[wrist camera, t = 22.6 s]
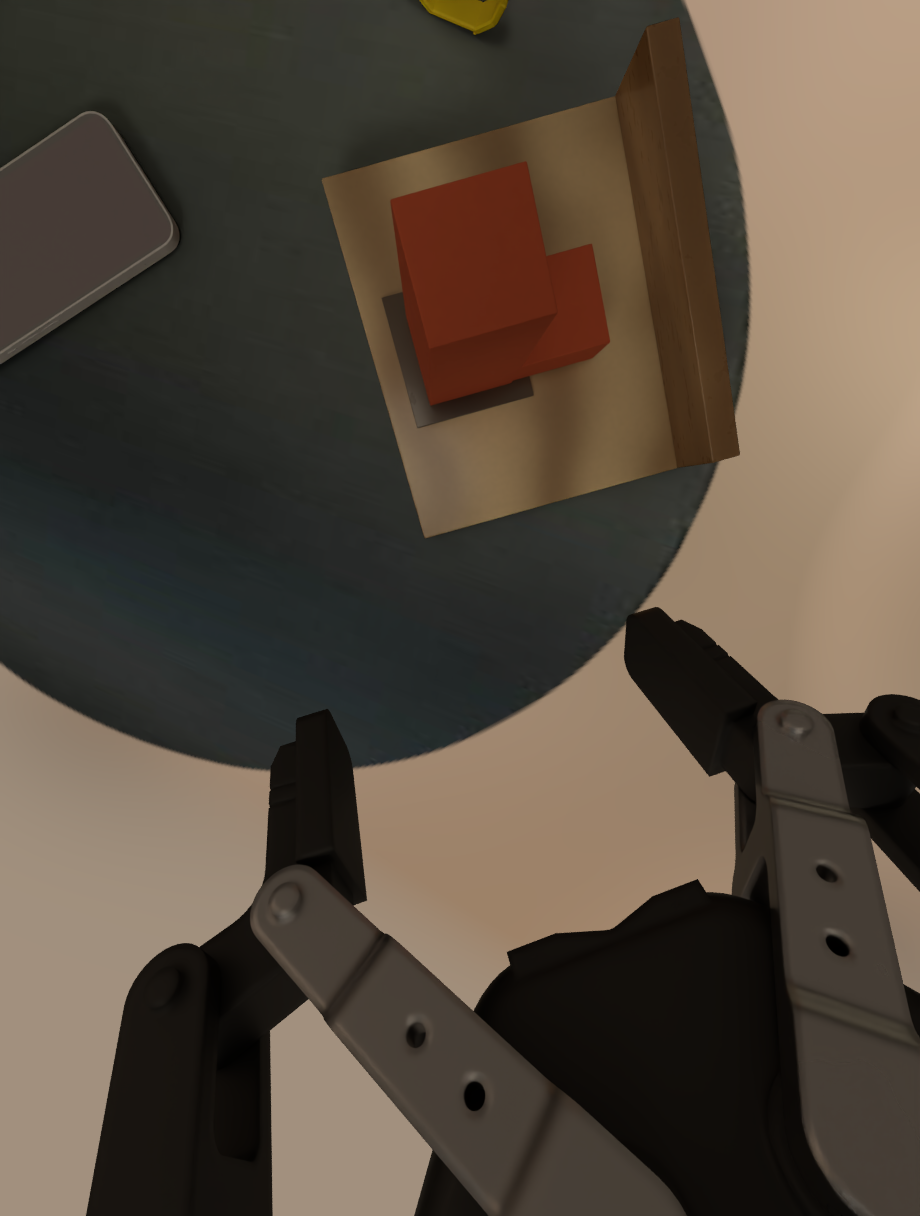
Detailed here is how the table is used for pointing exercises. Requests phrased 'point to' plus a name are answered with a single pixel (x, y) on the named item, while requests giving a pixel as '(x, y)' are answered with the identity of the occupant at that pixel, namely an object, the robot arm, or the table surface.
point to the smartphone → (73, 228)
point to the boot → (491, 286)
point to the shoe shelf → (631, 291)
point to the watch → (468, 12)
